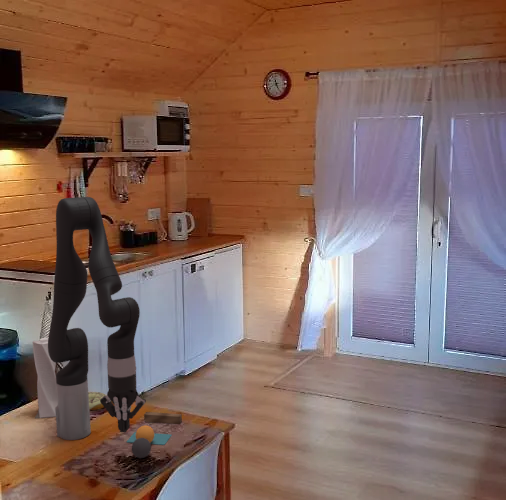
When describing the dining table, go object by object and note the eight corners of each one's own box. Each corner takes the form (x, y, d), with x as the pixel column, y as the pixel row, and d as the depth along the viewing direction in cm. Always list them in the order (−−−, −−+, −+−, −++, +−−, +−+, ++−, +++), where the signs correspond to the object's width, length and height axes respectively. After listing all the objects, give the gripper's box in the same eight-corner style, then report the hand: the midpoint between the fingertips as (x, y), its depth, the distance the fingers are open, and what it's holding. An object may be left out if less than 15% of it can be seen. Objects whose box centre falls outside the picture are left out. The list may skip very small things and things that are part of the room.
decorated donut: (90, 414, 213) (90, 404, 212) (69, 408, 219) (68, 397, 218) (114, 404, 221) (113, 394, 221) (93, 398, 227) (92, 388, 227)
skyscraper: (64, 409, 218) (58, 329, 214) (60, 418, 210) (54, 336, 206) (38, 411, 217) (32, 331, 213) (34, 420, 209) (27, 338, 205)
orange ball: (131, 435, 186) (137, 420, 191) (135, 447, 189) (141, 433, 194) (149, 436, 185) (154, 422, 190) (152, 449, 188) (158, 434, 193)
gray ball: (141, 430, 184) (139, 445, 186) (128, 440, 179) (126, 455, 181) (156, 440, 181) (153, 455, 184) (143, 450, 177) (140, 465, 179)
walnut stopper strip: (144, 421, 206) (144, 414, 205) (146, 419, 208) (146, 411, 207) (179, 424, 203) (179, 416, 203) (181, 421, 205) (181, 414, 205)
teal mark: (126, 442, 191) (126, 441, 191) (134, 432, 198) (134, 431, 198) (164, 445, 189) (164, 444, 189) (171, 435, 195) (171, 434, 195)
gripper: (92, 374, 170) (95, 435, 173) (139, 377, 167) (141, 439, 170) (104, 364, 177) (107, 423, 180) (149, 368, 174) (151, 427, 177)
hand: (124, 431), depth 175 cm, fingers closed
